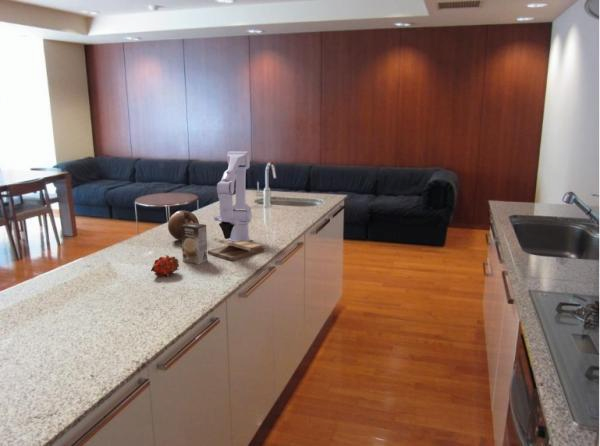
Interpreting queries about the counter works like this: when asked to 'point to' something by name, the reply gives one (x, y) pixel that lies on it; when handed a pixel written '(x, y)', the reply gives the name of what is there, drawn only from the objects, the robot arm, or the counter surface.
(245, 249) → the oak plank
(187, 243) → the coffee box
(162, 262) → the dragon fruit
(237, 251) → the board
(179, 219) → the wooden sphere
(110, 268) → the counter surface
